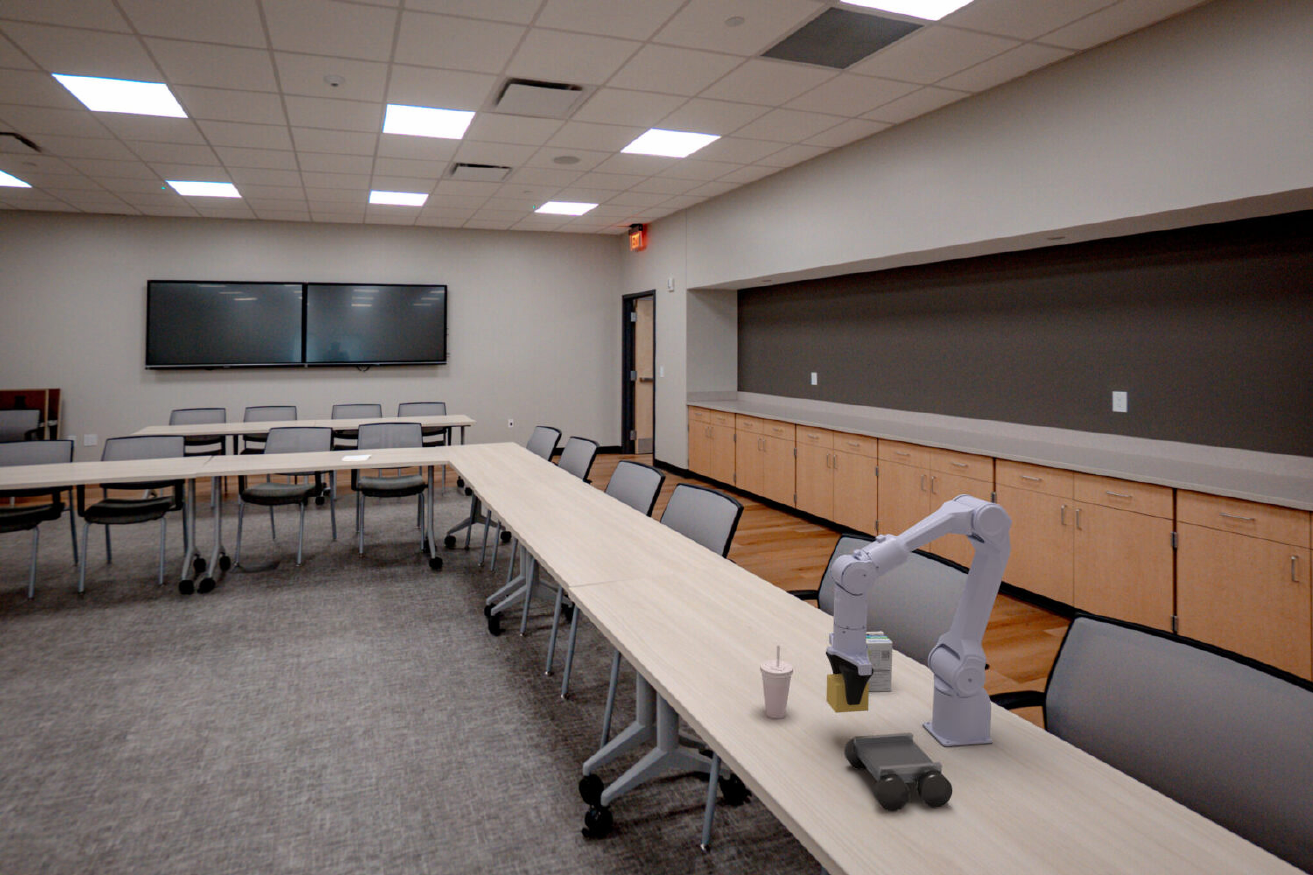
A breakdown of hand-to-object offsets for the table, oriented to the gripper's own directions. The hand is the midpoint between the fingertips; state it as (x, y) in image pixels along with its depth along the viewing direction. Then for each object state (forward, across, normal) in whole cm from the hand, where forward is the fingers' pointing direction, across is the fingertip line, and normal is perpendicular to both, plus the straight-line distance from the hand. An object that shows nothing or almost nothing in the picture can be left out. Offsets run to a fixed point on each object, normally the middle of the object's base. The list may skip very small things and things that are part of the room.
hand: (847, 697), depth 130 cm
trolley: (+8, +14, +2) cm, 17 cm away
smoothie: (+8, -12, -10) cm, 17 cm away
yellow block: (+2, 0, 0) cm, 2 cm away
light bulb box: (+9, -22, +12) cm, 27 cm away
